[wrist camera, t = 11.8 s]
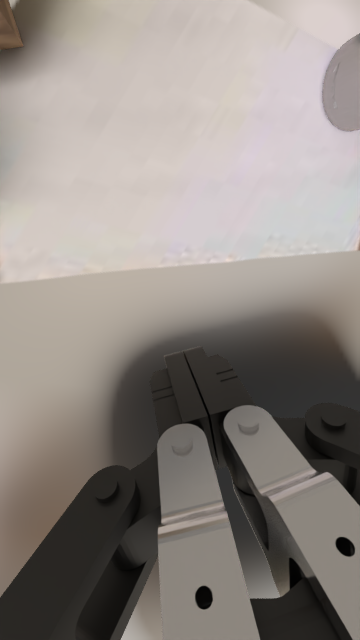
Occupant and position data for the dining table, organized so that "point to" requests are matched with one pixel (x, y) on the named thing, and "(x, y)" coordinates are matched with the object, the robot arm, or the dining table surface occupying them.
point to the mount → (8, 28)
